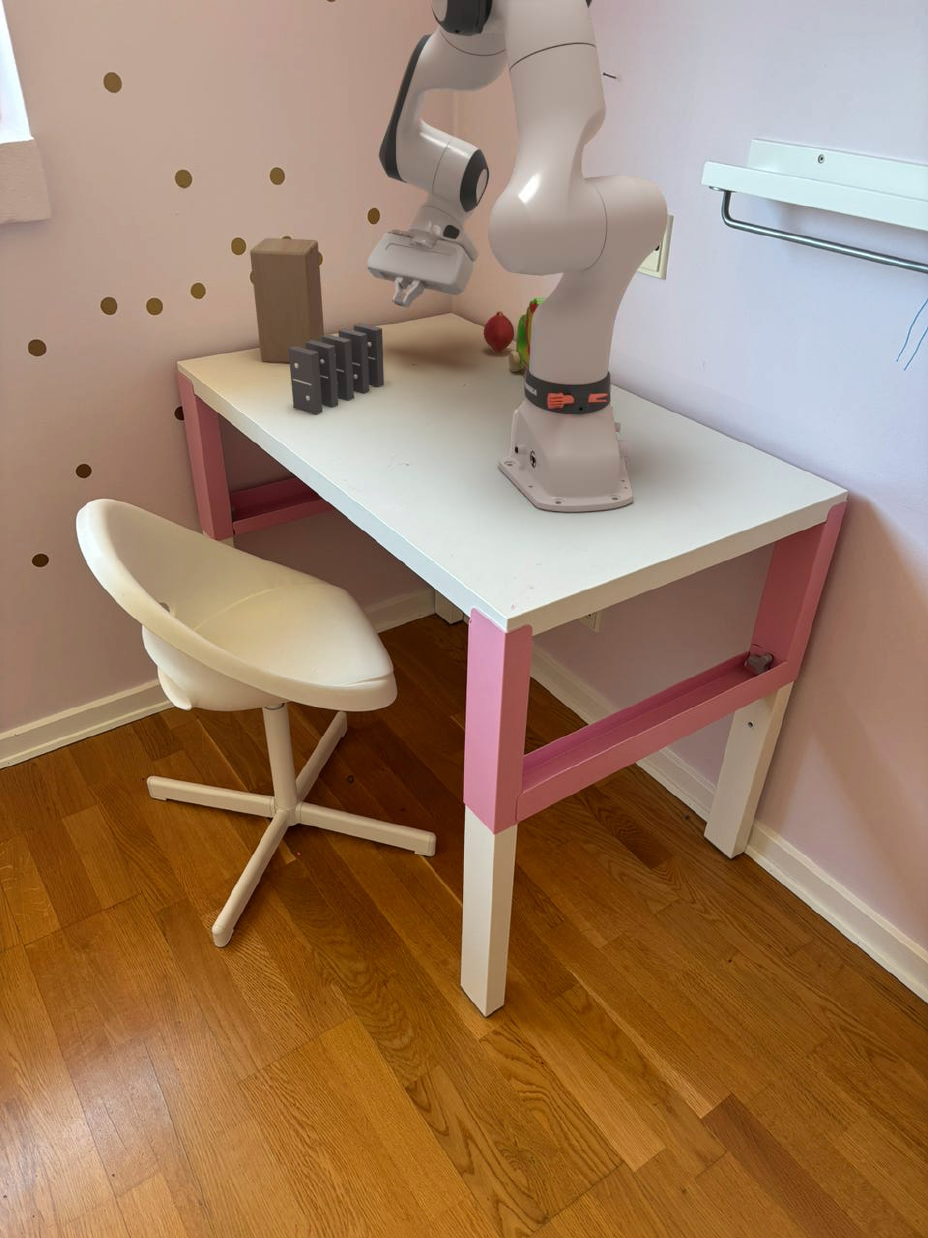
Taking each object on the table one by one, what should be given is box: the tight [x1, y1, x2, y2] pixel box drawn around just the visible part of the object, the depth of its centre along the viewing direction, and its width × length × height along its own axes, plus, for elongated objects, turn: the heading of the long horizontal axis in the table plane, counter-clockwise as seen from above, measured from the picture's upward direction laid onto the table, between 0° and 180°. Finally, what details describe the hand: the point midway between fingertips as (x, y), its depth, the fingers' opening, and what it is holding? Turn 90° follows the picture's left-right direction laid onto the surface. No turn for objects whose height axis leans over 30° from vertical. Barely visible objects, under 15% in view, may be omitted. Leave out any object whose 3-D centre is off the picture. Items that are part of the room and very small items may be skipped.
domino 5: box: [353, 322, 385, 388], centre depth 166 cm, size 2×5×10 cm, turn 55°
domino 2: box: [305, 340, 339, 409], centre depth 157 cm, size 2×5×10 cm, turn 55°
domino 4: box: [337, 328, 370, 395], centre depth 163 cm, size 2×5×10 cm, turn 55°
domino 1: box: [288, 346, 323, 416], centre depth 155 cm, size 2×5×10 cm, turn 55°
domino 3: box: [322, 334, 355, 402], centre depth 160 cm, size 2×5×10 cm, turn 55°
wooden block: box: [249, 237, 325, 364], centre depth 175 cm, size 10×10×20 cm
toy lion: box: [508, 297, 547, 380], centre depth 166 cm, size 16×5×15 cm, turn 14°
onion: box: [483, 310, 515, 353], centre depth 181 cm, size 6×6×8 cm
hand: (400, 304), depth 168 cm, fingers closed
